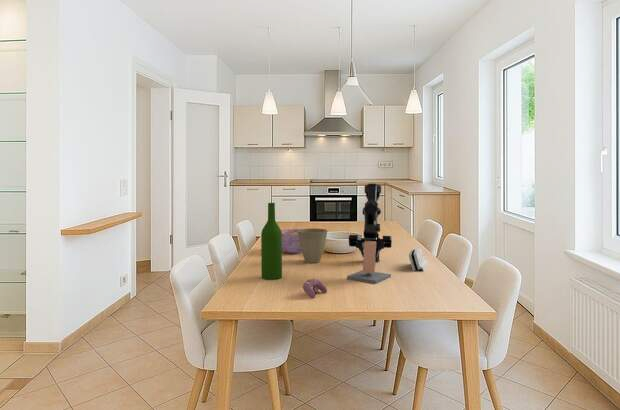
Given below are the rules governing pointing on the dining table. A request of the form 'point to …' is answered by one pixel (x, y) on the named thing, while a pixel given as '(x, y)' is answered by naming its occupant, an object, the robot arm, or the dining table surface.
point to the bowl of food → (290, 241)
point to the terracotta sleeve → (369, 256)
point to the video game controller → (315, 284)
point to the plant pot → (312, 243)
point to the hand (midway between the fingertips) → (369, 257)
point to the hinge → (418, 259)
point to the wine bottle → (271, 247)
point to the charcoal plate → (369, 277)
